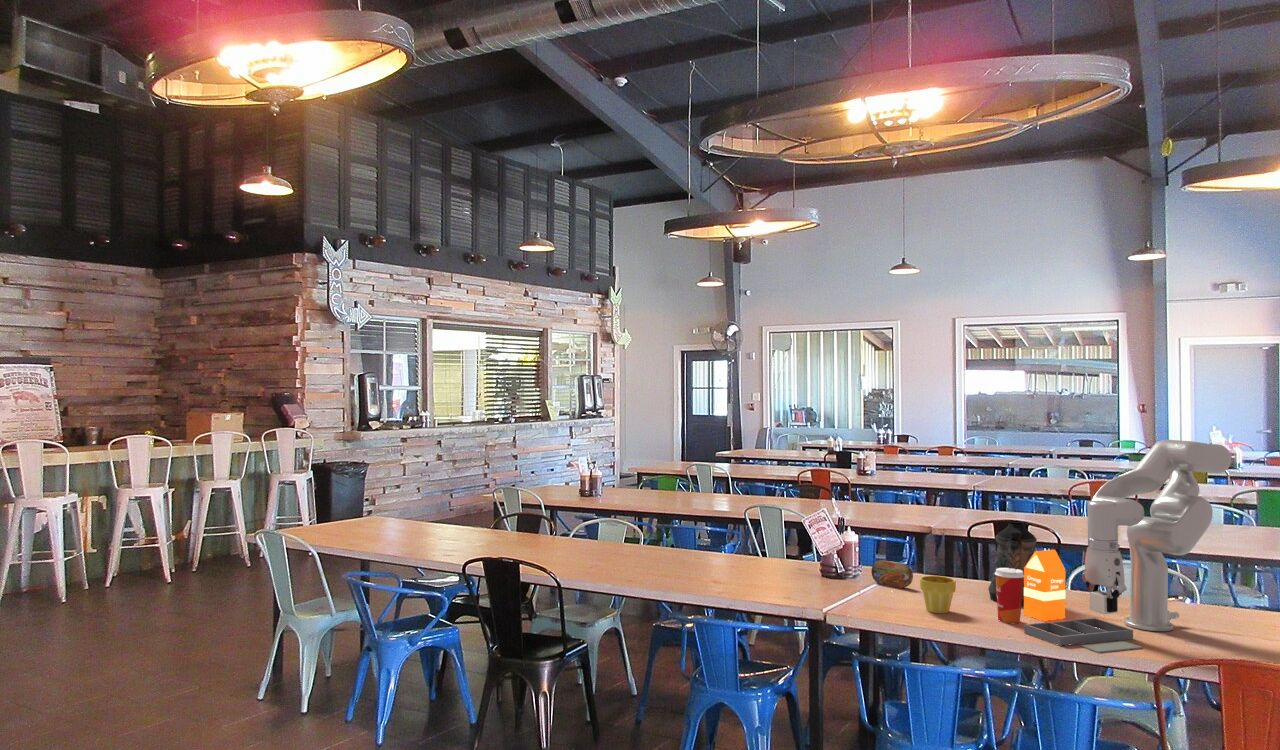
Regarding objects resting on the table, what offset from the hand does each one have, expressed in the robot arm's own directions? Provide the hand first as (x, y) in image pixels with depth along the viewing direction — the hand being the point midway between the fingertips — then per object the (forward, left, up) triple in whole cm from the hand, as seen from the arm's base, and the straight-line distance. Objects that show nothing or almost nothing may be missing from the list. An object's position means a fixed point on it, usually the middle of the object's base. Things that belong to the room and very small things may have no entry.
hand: (1103, 608), depth 256 cm
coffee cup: (+17, -19, -7) cm, 26 cm away
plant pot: (+30, -35, -7) cm, 46 cm away
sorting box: (+9, 0, -7) cm, 12 cm away
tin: (+23, -69, -7) cm, 73 cm away
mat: (+9, +11, -7) cm, 16 cm away
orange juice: (+3, -20, -7) cm, 21 cm away
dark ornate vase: (-3, -38, -7) cm, 38 cm away
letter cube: (0, 0, -1) cm, 1 cm away
